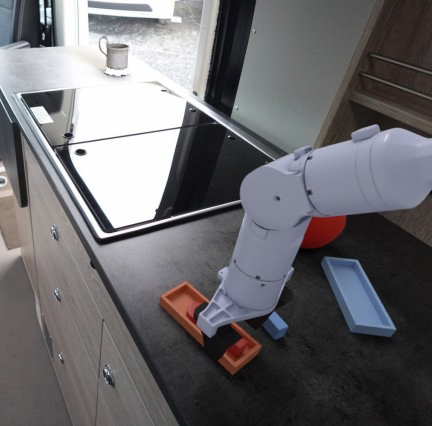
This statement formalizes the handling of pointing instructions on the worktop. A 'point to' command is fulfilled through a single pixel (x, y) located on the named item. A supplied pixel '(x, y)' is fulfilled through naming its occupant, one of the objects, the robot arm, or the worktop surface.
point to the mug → (116, 55)
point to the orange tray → (177, 307)
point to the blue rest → (357, 297)
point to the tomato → (322, 231)
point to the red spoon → (233, 350)
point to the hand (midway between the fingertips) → (232, 338)
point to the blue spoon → (275, 326)
